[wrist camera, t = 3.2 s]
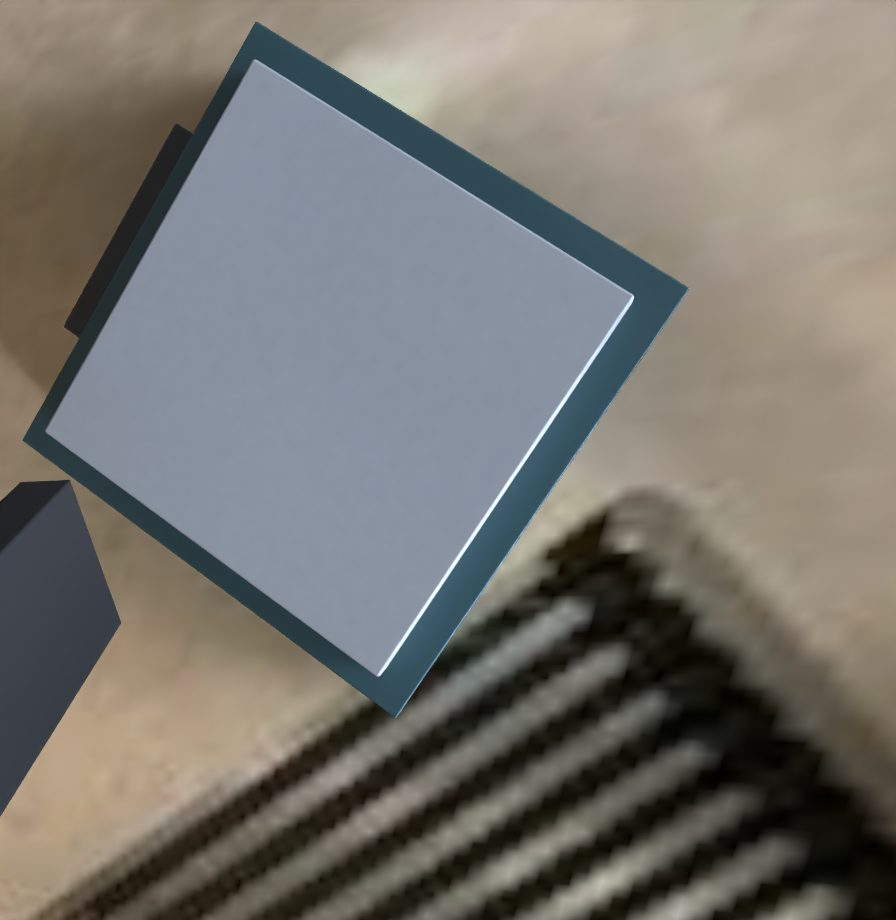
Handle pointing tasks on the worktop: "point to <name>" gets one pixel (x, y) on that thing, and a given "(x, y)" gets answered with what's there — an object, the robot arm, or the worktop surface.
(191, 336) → the scale
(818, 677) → the worktop surface
